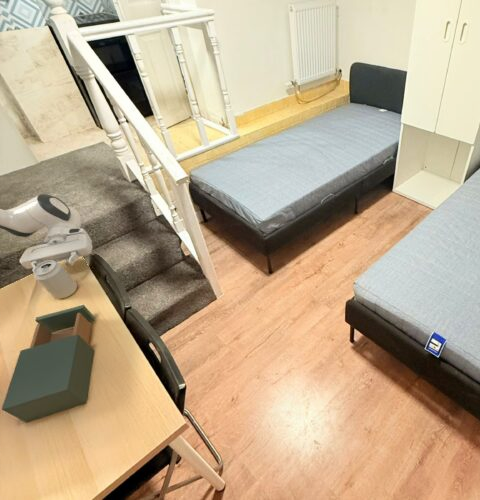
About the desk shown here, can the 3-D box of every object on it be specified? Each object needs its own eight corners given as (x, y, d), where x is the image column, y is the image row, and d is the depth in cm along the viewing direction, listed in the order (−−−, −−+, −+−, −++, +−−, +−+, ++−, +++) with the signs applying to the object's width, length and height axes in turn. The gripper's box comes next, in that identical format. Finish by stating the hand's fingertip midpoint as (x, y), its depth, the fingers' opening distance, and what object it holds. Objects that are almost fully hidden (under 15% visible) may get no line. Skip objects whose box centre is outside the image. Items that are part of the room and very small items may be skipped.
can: (80, 279, 114) (59, 255, 106) (77, 295, 109) (55, 271, 101) (55, 286, 113) (33, 262, 104) (51, 303, 108) (27, 279, 99)
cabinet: (41, 365, 92) (20, 350, 86) (94, 350, 95) (78, 334, 89) (26, 422, 82) (1, 409, 76) (86, 403, 85) (67, 389, 79)
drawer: (51, 326, 100) (36, 314, 95) (96, 314, 103) (84, 301, 98) (38, 374, 90) (21, 362, 85) (88, 359, 92) (75, 347, 87)
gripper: (21, 241, 112) (9, 270, 103) (87, 227, 117) (81, 253, 107) (33, 254, 117) (22, 283, 107) (96, 240, 121) (91, 266, 112)
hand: (52, 268), depth 107 cm, fingers open, 8 cm apart
